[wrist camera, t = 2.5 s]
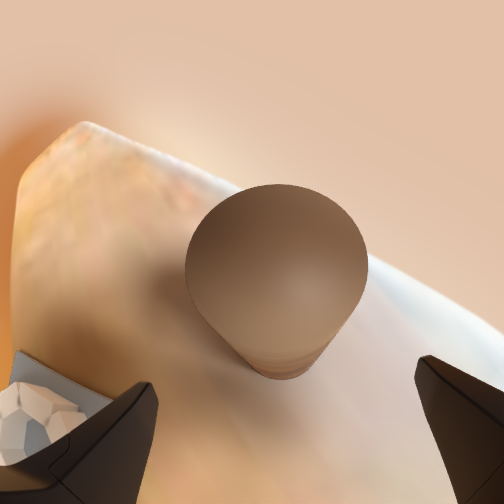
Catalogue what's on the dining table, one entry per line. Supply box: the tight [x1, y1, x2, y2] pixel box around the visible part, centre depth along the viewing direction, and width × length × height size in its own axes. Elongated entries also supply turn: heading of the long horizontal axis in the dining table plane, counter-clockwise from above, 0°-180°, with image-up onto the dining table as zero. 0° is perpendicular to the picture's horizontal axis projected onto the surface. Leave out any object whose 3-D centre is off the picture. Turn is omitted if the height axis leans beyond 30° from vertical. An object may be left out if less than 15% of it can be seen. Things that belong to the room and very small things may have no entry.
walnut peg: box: [185, 184, 368, 380], centre depth 13 cm, size 5×5×12 cm
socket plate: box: [0, 351, 113, 466], centre depth 14 cm, size 14×14×4 cm
